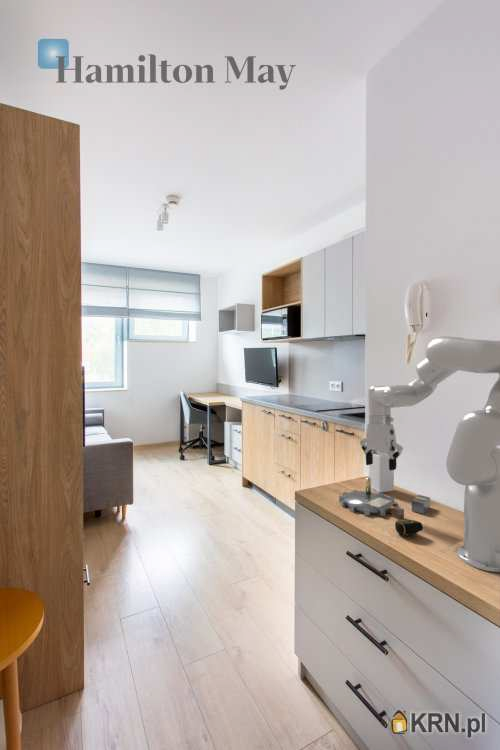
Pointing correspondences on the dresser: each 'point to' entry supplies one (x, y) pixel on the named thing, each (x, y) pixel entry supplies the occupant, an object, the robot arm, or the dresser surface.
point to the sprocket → (368, 501)
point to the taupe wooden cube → (397, 512)
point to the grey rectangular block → (420, 504)
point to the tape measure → (408, 526)
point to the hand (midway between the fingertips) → (380, 467)
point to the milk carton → (381, 473)
